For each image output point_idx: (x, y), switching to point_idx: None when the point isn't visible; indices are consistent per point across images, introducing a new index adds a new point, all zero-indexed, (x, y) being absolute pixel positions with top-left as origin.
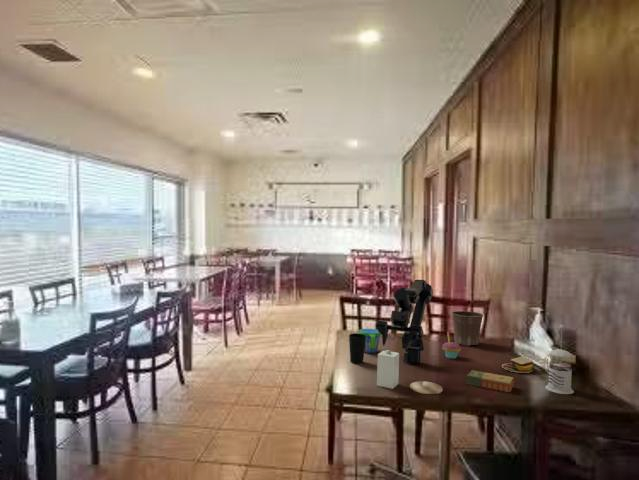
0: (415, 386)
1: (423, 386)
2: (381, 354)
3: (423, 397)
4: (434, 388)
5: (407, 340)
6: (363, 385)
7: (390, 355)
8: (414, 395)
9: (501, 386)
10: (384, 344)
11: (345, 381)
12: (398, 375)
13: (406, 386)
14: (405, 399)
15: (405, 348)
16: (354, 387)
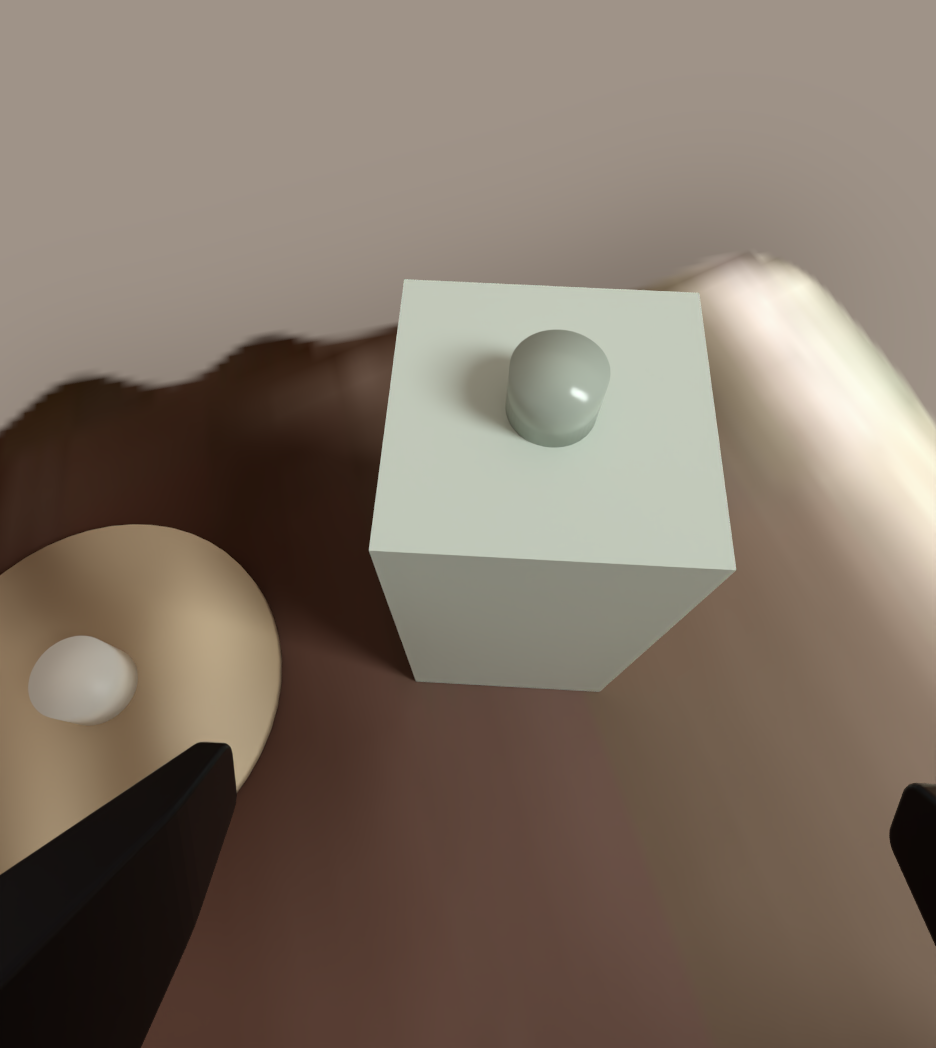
0: (216, 635)
1: (126, 655)
2: (641, 311)
3: (141, 448)
4: (8, 674)
5: (36, 921)
6: None
7: (482, 327)
8: (219, 456)
9: None
10: (917, 873)
11: (895, 495)
12: (408, 658)
13: (318, 646)
14: (283, 352)
15: (226, 761)
16: (740, 401)
